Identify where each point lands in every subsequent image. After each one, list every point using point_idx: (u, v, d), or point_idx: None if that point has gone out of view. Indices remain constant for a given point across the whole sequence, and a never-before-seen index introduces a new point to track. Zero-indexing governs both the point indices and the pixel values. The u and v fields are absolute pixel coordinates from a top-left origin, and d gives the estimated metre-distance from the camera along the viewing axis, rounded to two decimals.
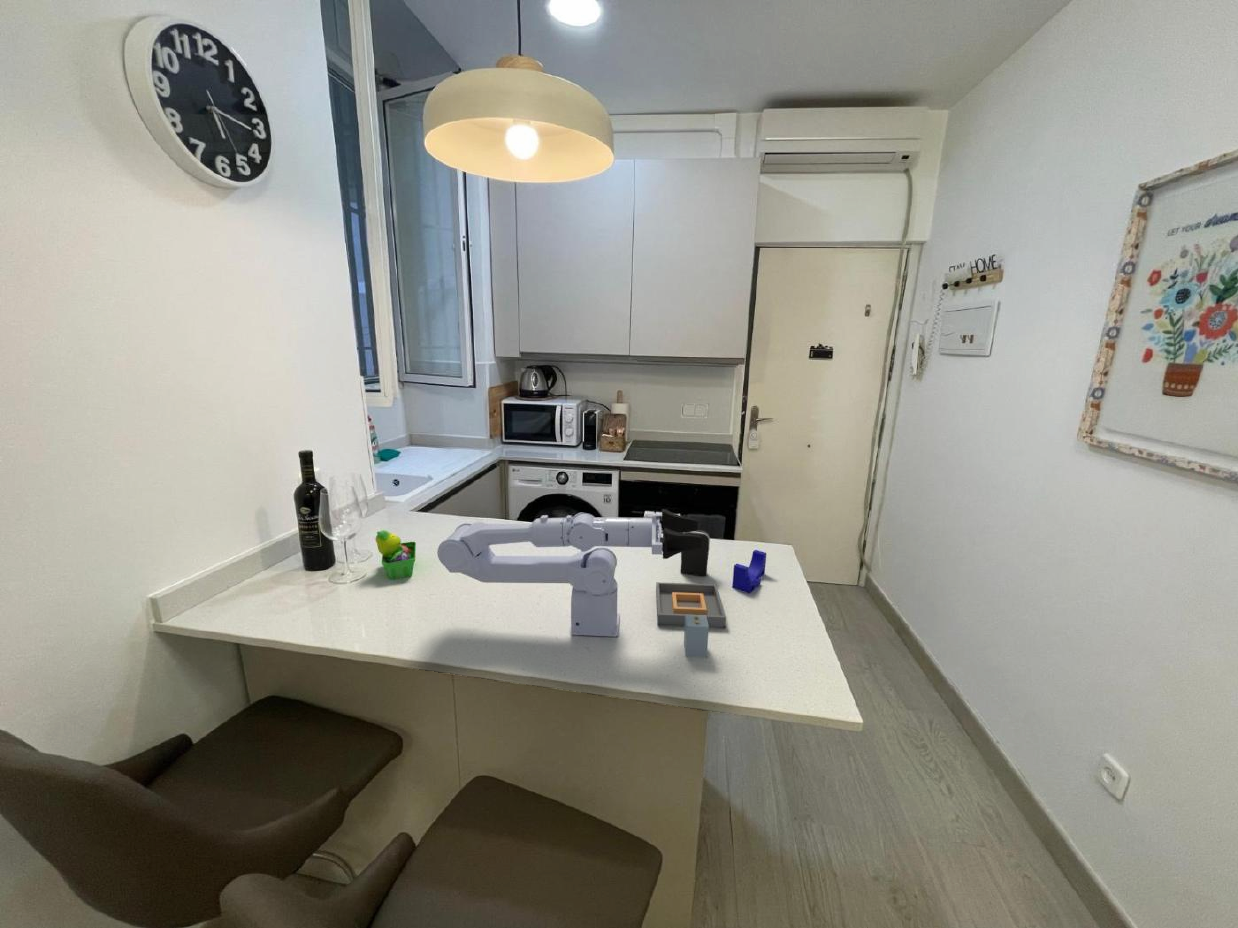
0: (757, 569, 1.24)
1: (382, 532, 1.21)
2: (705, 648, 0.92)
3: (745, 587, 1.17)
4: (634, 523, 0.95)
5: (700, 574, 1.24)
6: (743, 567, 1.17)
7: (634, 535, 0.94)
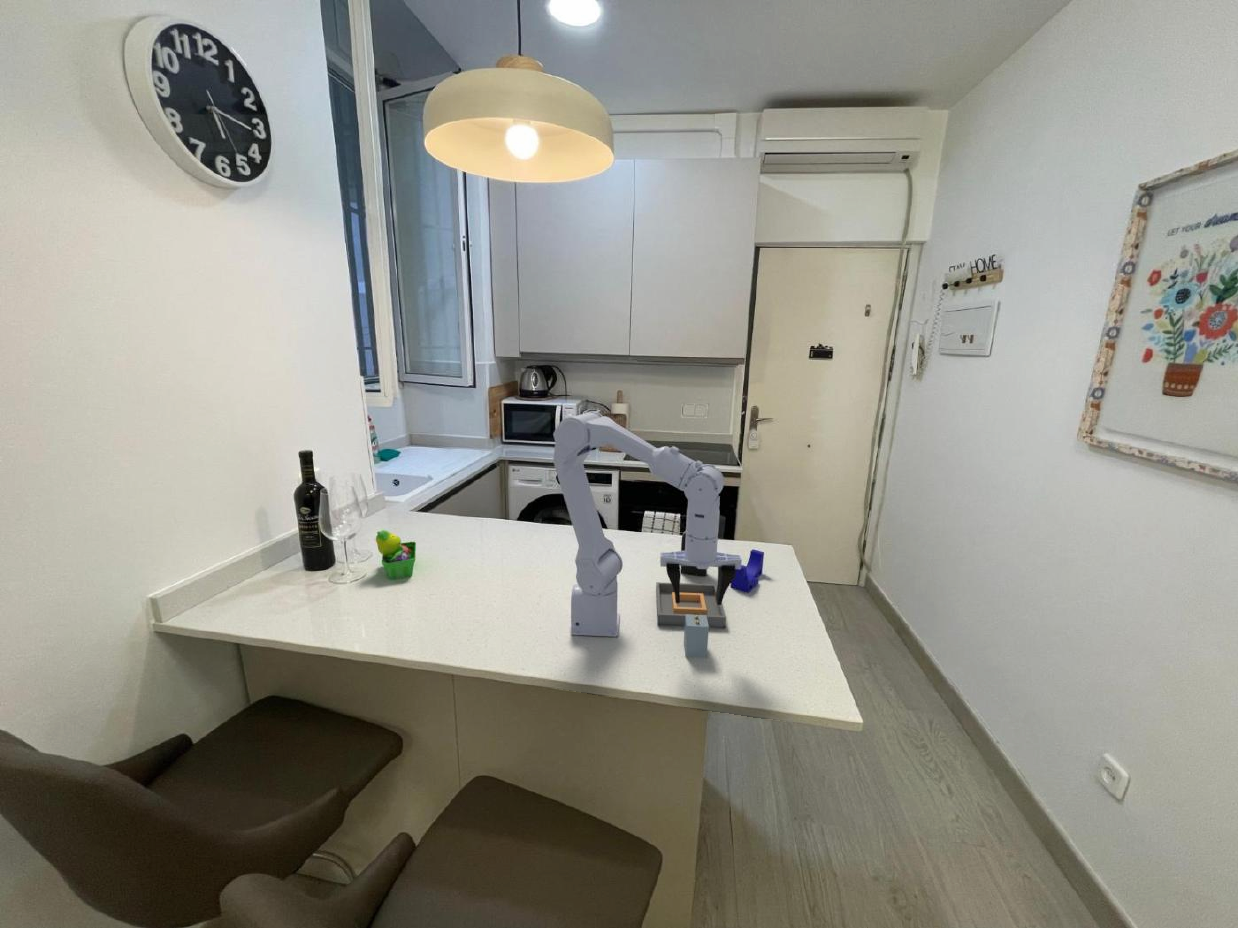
0: (755, 568, 1.24)
1: (382, 532, 1.21)
2: (705, 648, 0.92)
3: (743, 586, 1.17)
4: (695, 544, 0.87)
5: (700, 574, 1.24)
6: (741, 566, 1.17)
7: (686, 539, 0.89)
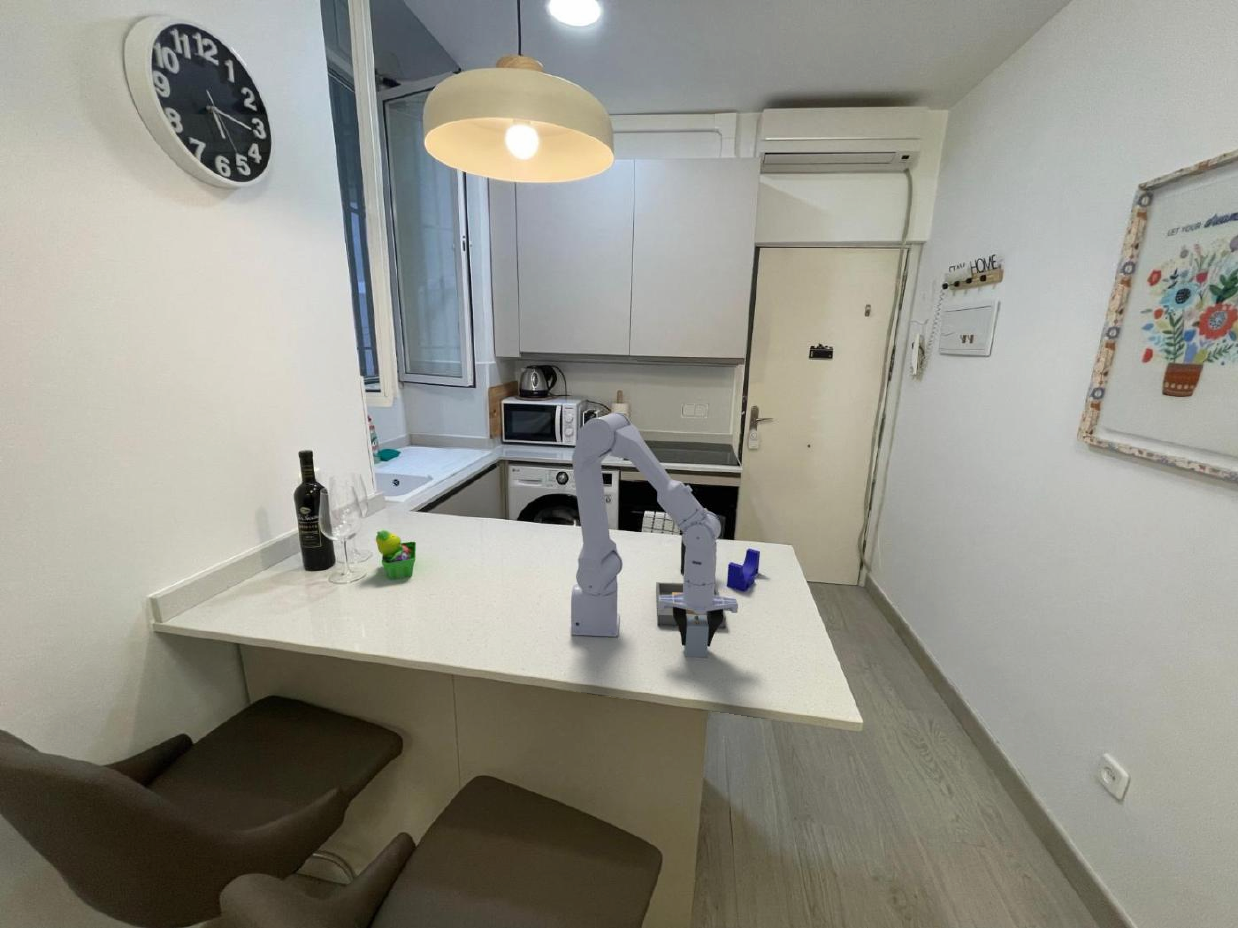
0: (751, 567, 1.24)
1: (382, 532, 1.21)
2: (705, 648, 0.92)
3: (740, 585, 1.17)
4: (692, 589, 0.89)
5: None
6: (737, 566, 1.17)
7: (684, 584, 0.91)
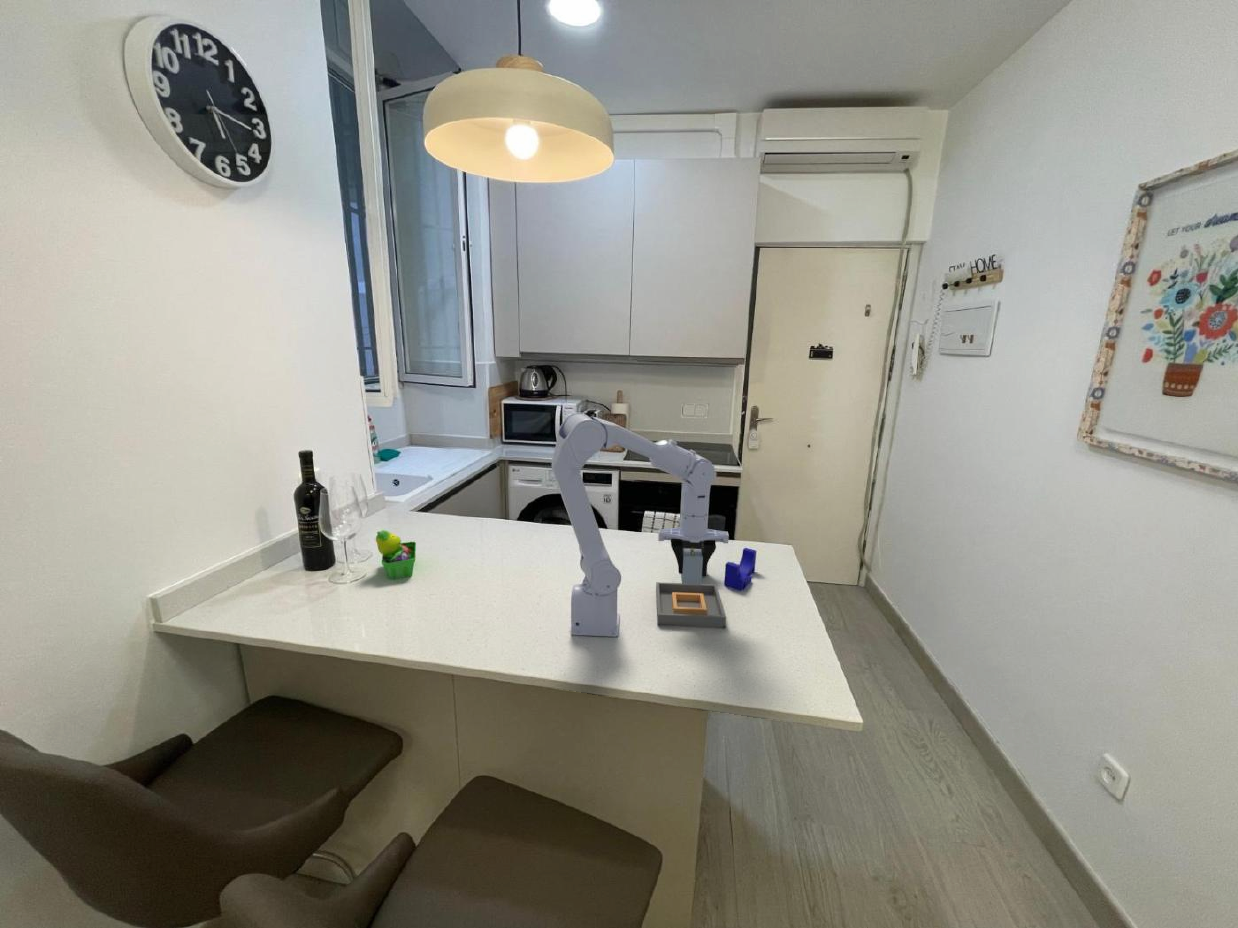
0: (748, 567, 1.25)
1: (382, 532, 1.21)
2: (700, 577, 1.03)
3: (737, 585, 1.18)
4: (688, 520, 1.01)
5: None
6: (735, 565, 1.18)
7: (680, 517, 1.02)
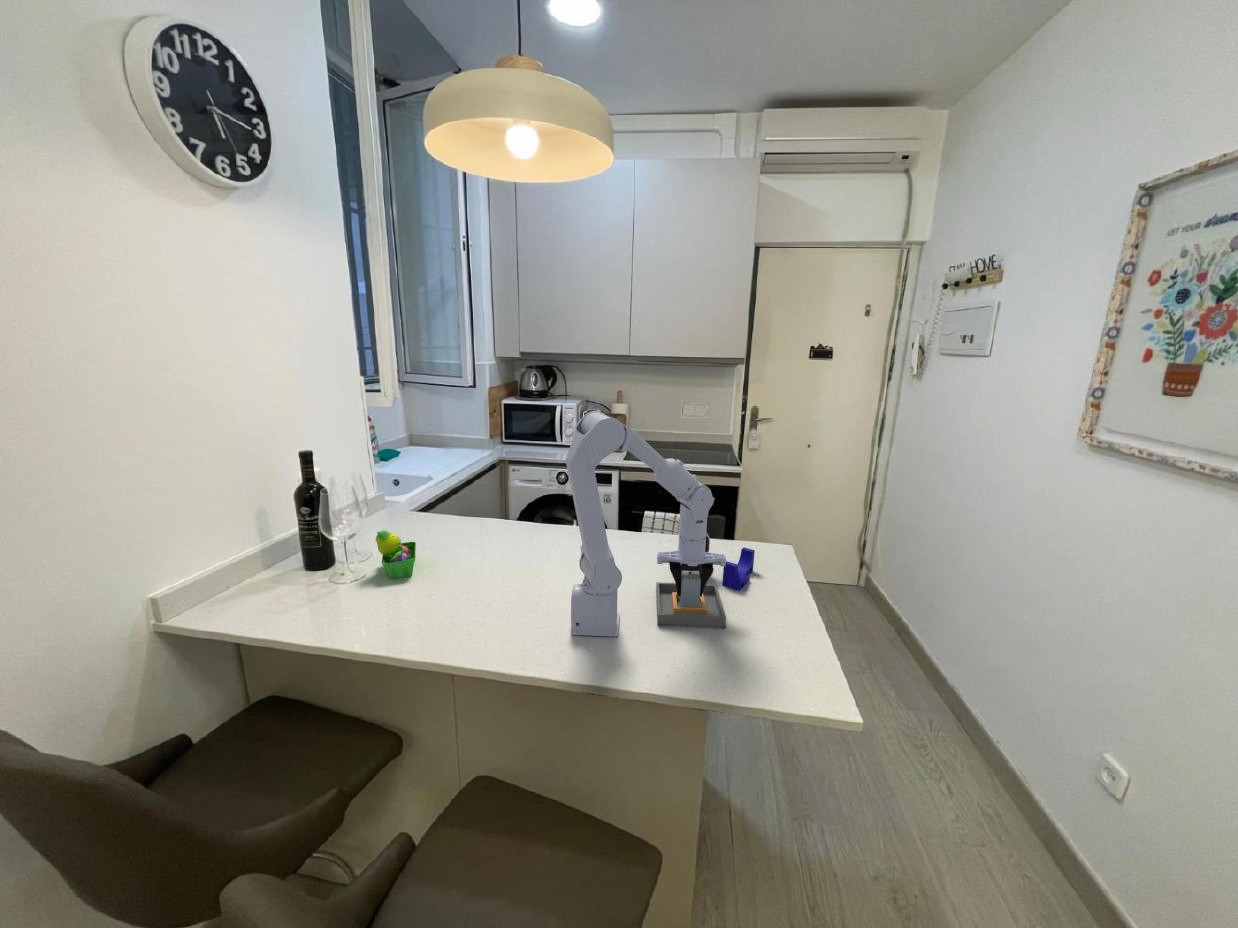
0: (746, 566, 1.25)
1: (382, 532, 1.21)
2: (698, 599, 1.06)
3: (735, 584, 1.18)
4: (686, 545, 1.03)
5: None
6: (733, 565, 1.18)
7: (679, 541, 1.05)
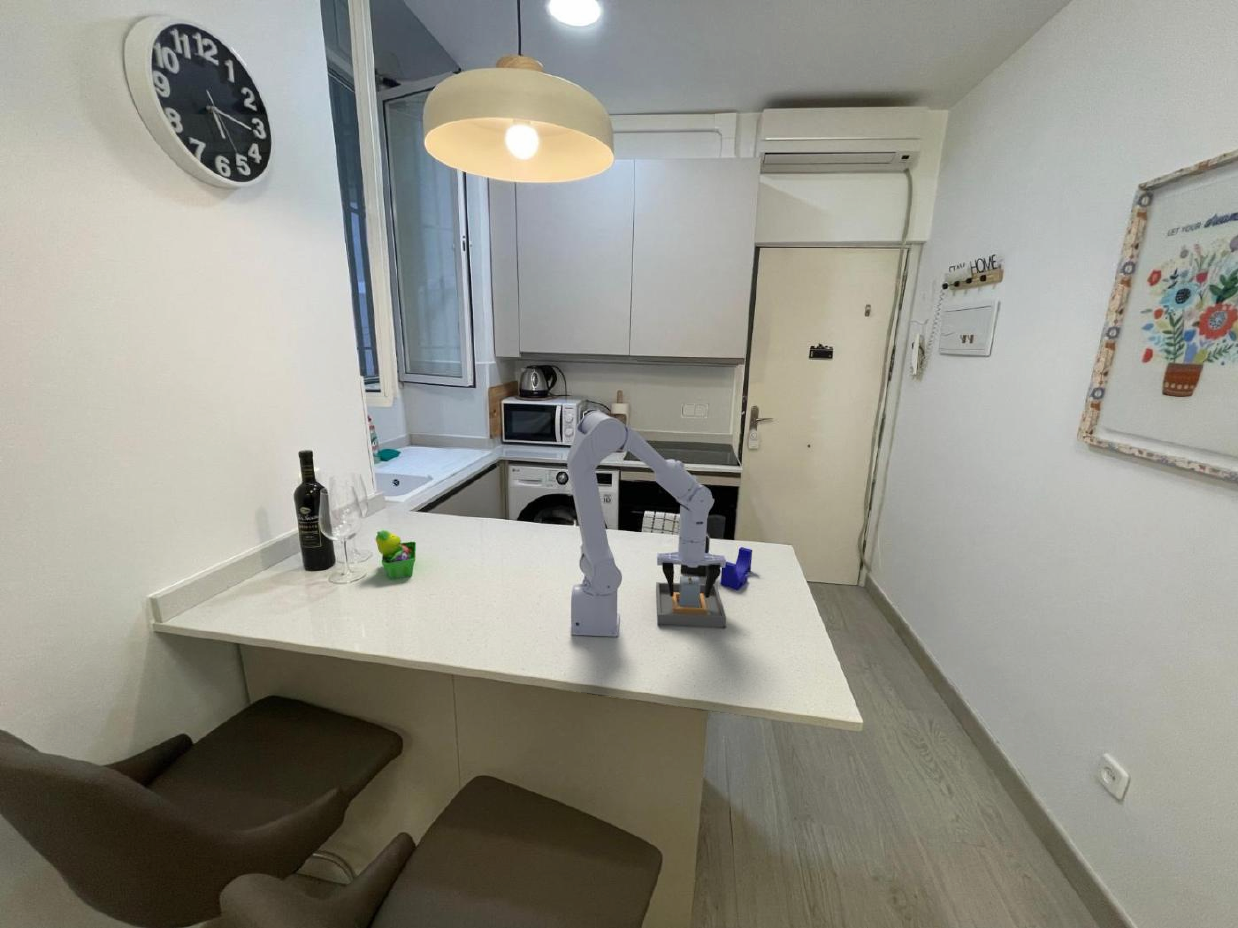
0: (744, 566, 1.25)
1: (382, 532, 1.21)
2: (697, 604, 1.06)
3: (733, 584, 1.18)
4: (686, 546, 1.03)
5: (700, 574, 1.24)
6: (731, 564, 1.18)
7: (679, 542, 1.05)
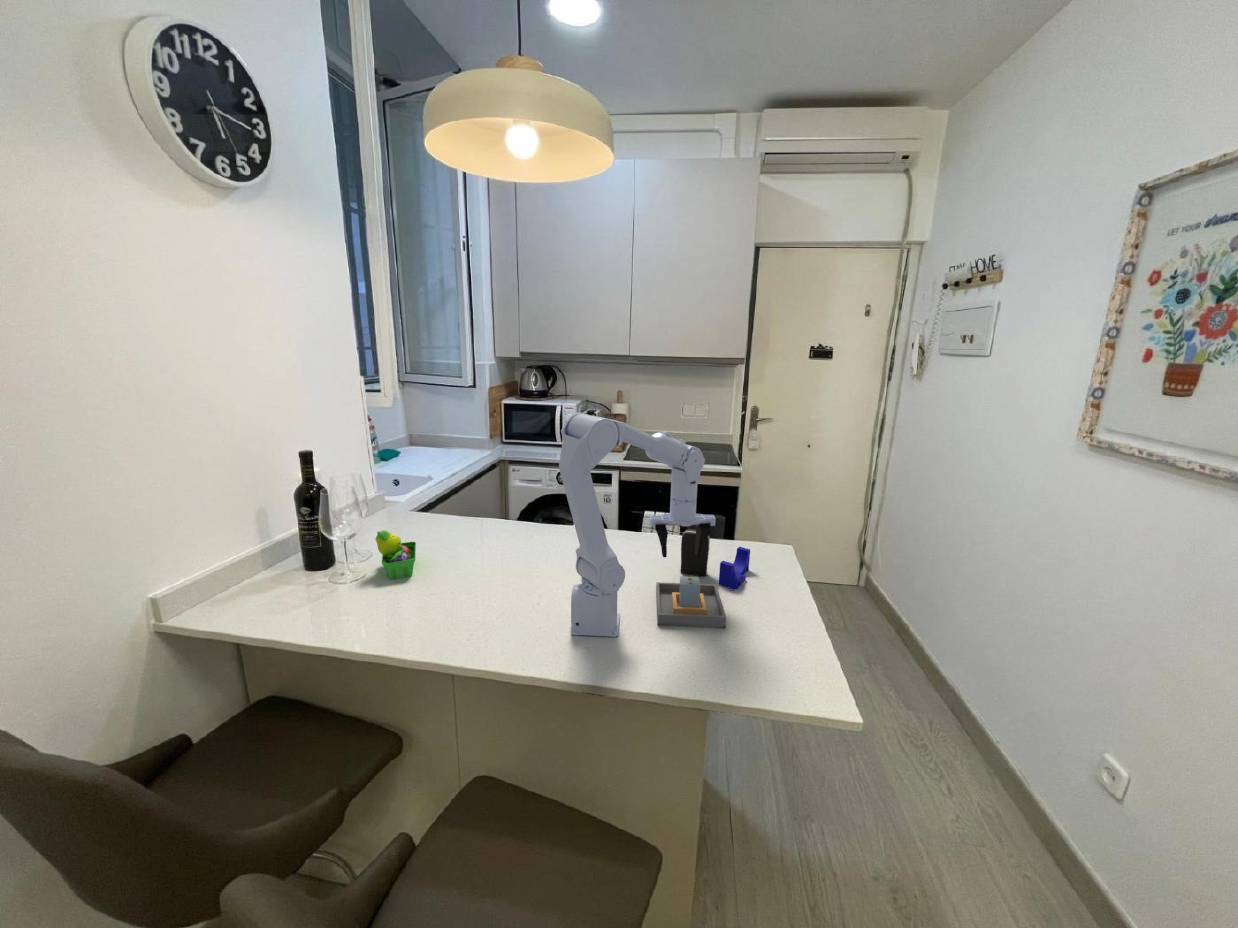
0: (742, 565, 1.25)
1: (382, 532, 1.21)
2: (697, 604, 1.06)
3: (731, 584, 1.18)
4: (679, 506, 1.06)
5: (700, 574, 1.24)
6: (729, 564, 1.18)
7: (671, 503, 1.08)
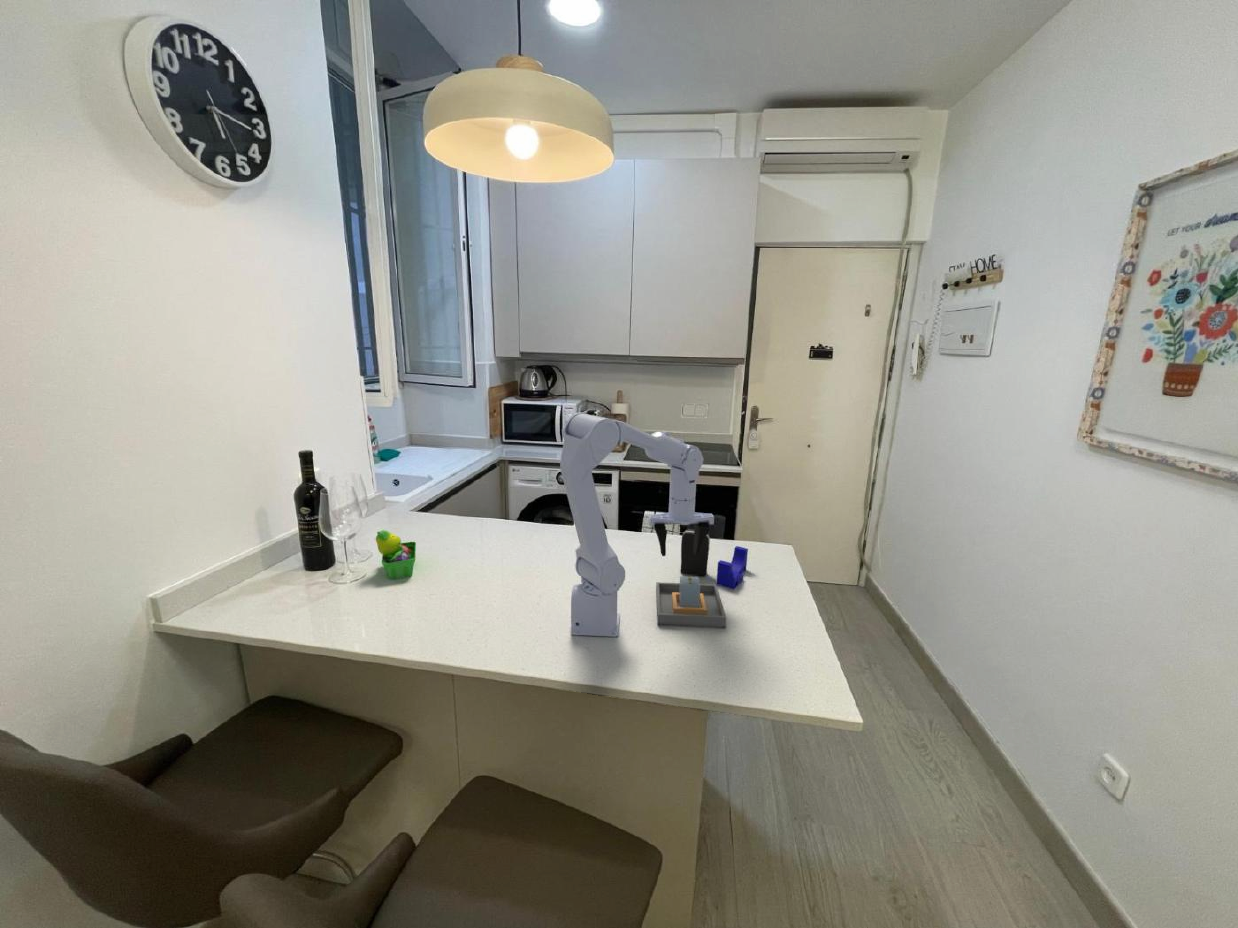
0: (739, 565, 1.26)
1: (382, 532, 1.21)
2: (697, 604, 1.06)
3: (729, 583, 1.18)
4: (678, 505, 1.07)
5: (700, 574, 1.24)
6: (727, 563, 1.18)
7: (670, 502, 1.09)
